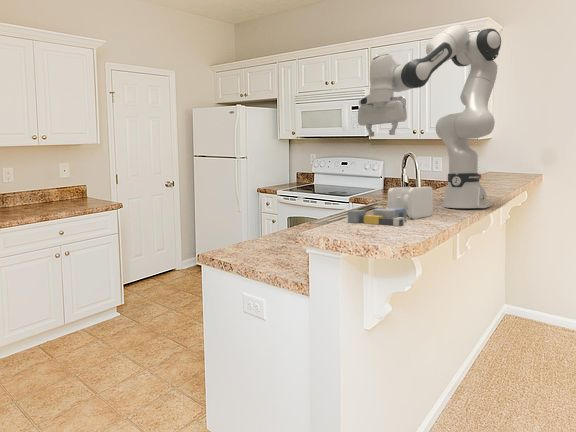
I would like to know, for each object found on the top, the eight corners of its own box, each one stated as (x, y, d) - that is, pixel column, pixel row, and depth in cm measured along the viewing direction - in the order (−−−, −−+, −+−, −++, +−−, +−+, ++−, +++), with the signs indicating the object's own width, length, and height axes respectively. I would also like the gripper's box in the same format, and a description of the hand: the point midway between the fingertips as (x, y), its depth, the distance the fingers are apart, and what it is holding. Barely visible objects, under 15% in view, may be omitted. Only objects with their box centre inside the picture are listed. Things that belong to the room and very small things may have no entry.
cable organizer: (410, 220, 165) (410, 188, 164) (386, 218, 173) (386, 187, 171) (433, 217, 174) (433, 186, 173) (409, 215, 182) (409, 186, 181)
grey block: (356, 221, 166) (356, 210, 165) (367, 222, 162) (367, 210, 162) (347, 222, 162) (347, 211, 162) (358, 223, 159) (358, 211, 159)
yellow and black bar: (364, 222, 163) (364, 214, 162) (404, 225, 151) (404, 217, 151) (357, 223, 160) (357, 215, 160) (398, 226, 148) (398, 218, 148)
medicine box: (395, 210, 156) (373, 209, 161) (395, 223, 156) (372, 222, 162) (406, 208, 162) (384, 207, 167) (406, 221, 162) (384, 220, 168)
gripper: (410, 96, 170) (410, 134, 172) (365, 102, 185) (365, 137, 186) (400, 94, 166) (400, 133, 167) (355, 101, 181) (355, 137, 182)
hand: (381, 135), depth 177 cm, fingers open, 8 cm apart
